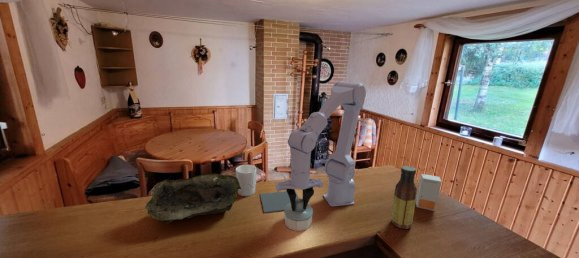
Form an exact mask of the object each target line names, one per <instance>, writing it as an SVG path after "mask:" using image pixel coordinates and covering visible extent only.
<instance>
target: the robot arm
mask: <svg viewBox="0 0 579 258" xmlns="http://www.w3.org/2000/svg"><path fill="white" fill-rule="evenodd" d="M366 95H367V90H366V87H365V85H364V84H363V83H362V82H361V83H355V82H344V81H340V80H339V81H336V82H335V83H334V84H333V86H331V89H330V95H329V97H328V98H327V99H326V100H325V102H324V104H323V105H322V106H321V108H320V109H319V111H316V112H315V111H314V112H312V113H311V114H310V115H309V117H308V118H307V119H306V120H305V121H304V123H303V124H302V125H301V126H300V127H299V128H298V129H295V130H292V131H291V132H290V134H289V137H288V139H287V145H288V146H289V150H290V151H289V152H290V154H291V156H290V157H291V159H290V161H291V162H290V163H291V164H290V179H288V180H284V181H281V182H275V189H276V192H282V191H287V193H288V195H289V198H290V202H291V208H292V211H295V200H296V194H297V192H296V190H300V191H301V190H302V198H301V199H303V200H304V205H303V209H304V210H306V207H307V204H308V205H309V202H310V200H311V199H312V197H313V196H314V193H315V189H314V188H321V189H322V188H323V187H324V186H323V185H324V182H323V180H322V179H321V178H310V175H311V174H310V172H311V156H312V155H311V154H312V151H313V150H314V149H315V148H316V145H317V141H318V140H319V139H318V138H319V136H320V134H321V133H322V132H323V131H324V129H325V128H326V127H327V126H328V118H329V117H330V116H332V114H333V113H334V112H335V111H336V110H337V109H338V108H339V107H340V106H342V108H343V110H344V111H343V115H342V116H343V117H342V120H341V123H340V124H341V126H340V128H339V135H338V138H337V142H336V147H335V151H334V152H333V153H331V154H329V155H328V157H327V160H326V162H325V164H324V172H325V174H326V177H327V178H328V180H327V181H328V183H327V193H324V194H323V195H322V196H323V198H324V199H325V200H326V202H327V203H328V205H329V206H330V207H338V206H339V207H340V206H349V205H355V201H354V200H355V198H354V197H355V191H356V183H355V181H354V177H355V173H356V169H355V167H356V161H355V160H354V159H353V158H352V156H351V151H352V147H353V142H354V137H355V133H356V129H357V124H358V120H359V115H360V112H361V110H362V109H363V108H364V104H365V98H366ZM295 192H296V193H295Z"/></svg>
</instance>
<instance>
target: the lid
mask: <svg viewBox="0 0 579 258" xmlns="http://www.w3.org/2000/svg"><path fill="white" fill-rule="evenodd" d="M303 205H304V200H303V199H302V198H301V197H298V198H296V200H295V211H292V208H291V203H289V204H287V205H286V206H285V208H284V211H283V212H284V213H285V215H286V216H287V217H288V218H290V219H293V220H298V221H301V220H306V219H309V218H310V217H311V216H312V217H313V215H314V209H313V207H312V206H311V205H310V204H309V203H308V204H307V207H306V210H304V209H303ZM284 213H283V214H284Z"/></svg>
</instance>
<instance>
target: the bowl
mask: <svg viewBox="0 0 579 258" xmlns="http://www.w3.org/2000/svg"><path fill="white" fill-rule="evenodd" d="M283 215H284V216H283V220H284V225H285V226H286V228H287V229H289V230H290V231H294V232H304V231H306V230H308V229H310V227H311V224H312V223H313V215H312V216H311V217H310V218H309V219H306V220H301V221H298V220H293V219H290V218H288V217H287V216H286V215H285V213H283Z"/></svg>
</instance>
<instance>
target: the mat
mask: <svg viewBox="0 0 579 258" xmlns="http://www.w3.org/2000/svg"><path fill="white" fill-rule="evenodd" d="M295 193H296V198H299V196H298V194H297V192H296V191H295ZM259 195H260V196H259V197H260V201H261V204H262V209H263V213H264V214H268V213H277V212H284V208H285V206H286V205H287V204H289V203H291V202H290V198H289V195H288V193H287V191H286V190H283V191H279V192H277V191H276V192H275V191H274V192H264V193H259Z"/></svg>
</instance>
